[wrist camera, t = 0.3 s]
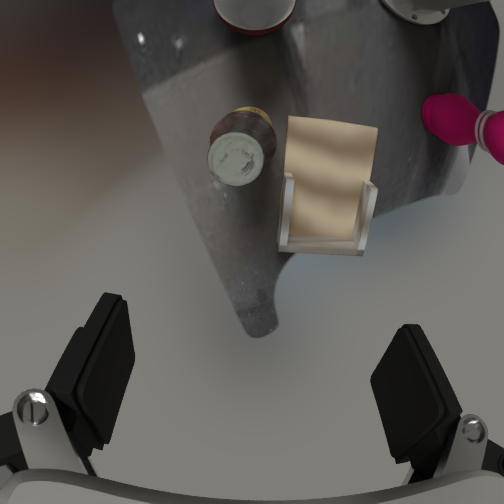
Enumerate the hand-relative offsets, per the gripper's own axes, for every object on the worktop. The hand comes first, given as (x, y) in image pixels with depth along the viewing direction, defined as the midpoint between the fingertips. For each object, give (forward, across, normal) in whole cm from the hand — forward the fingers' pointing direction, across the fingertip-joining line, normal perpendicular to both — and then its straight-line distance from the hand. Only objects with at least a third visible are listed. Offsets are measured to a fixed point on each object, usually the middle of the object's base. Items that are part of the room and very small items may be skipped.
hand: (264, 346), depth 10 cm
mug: (+34, +4, -18) cm, 39 cm away
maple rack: (+34, -10, +3) cm, 36 cm away
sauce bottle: (+34, +1, -3) cm, 34 cm away
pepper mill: (+34, -25, -11) cm, 43 cm away
